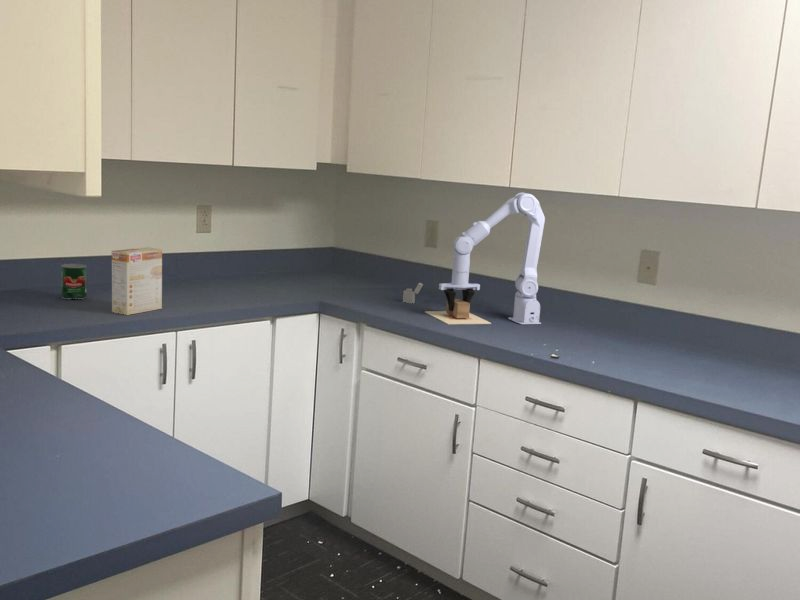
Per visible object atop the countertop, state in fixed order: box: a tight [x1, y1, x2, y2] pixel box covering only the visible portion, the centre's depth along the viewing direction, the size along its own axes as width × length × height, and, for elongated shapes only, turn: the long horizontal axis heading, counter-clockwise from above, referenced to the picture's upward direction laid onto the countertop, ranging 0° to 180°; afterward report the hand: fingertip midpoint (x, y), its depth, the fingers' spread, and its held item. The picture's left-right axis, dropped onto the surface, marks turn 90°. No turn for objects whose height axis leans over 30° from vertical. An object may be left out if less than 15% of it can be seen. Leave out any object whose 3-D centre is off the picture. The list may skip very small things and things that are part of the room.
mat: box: [424, 310, 492, 325], centre depth 276 cm, size 20×16×1 cm
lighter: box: [402, 282, 424, 304], centre depth 298 cm, size 7×2×8 cm, turn 68°
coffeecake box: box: [111, 246, 163, 316], centre depth 253 cm, size 15×7×20 cm, turn 152°
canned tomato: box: [60, 263, 88, 299], centre depth 267 cm, size 8×8×11 cm
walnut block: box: [445, 298, 471, 318], centre depth 275 cm, size 9×4×5 cm, turn 21°
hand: (457, 310), depth 275 cm, fingers closed on walnut block, 4 cm apart
